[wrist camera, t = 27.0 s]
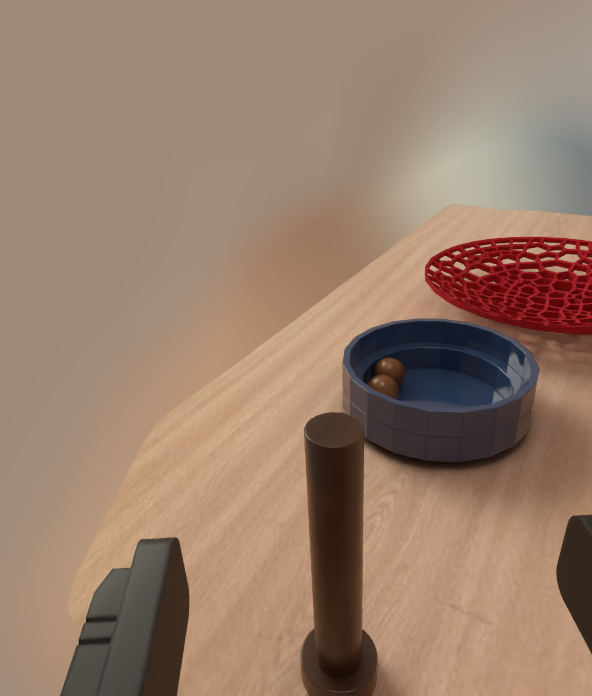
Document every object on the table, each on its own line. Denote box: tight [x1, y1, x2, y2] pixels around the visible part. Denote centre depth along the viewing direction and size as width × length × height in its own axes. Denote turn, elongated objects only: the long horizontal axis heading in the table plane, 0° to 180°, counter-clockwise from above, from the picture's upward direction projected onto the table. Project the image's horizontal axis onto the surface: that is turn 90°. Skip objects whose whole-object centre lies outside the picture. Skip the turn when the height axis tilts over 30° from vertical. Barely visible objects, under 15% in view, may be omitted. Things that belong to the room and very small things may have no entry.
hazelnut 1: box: [373, 358, 406, 387], centre depth 52 cm, size 3×3×3 cm
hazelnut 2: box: [367, 375, 399, 400], centre depth 50 cm, size 3×3×3 cm
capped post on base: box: [301, 412, 377, 696], centre depth 26 cm, size 4×4×16 cm
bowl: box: [425, 237, 592, 334], centre depth 66 cm, size 29×29×5 cm
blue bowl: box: [343, 319, 539, 462], centre depth 49 cm, size 16×16×6 cm
